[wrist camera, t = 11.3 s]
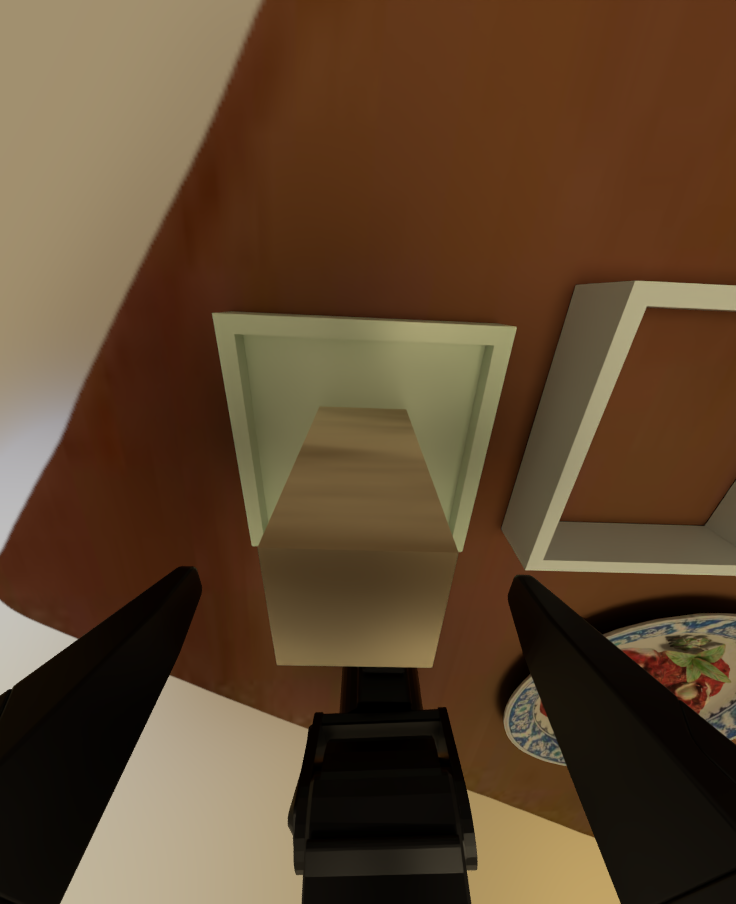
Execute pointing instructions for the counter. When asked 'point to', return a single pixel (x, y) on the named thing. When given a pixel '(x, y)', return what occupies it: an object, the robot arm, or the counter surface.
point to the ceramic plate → (664, 657)
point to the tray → (360, 394)
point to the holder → (571, 432)
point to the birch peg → (358, 547)
